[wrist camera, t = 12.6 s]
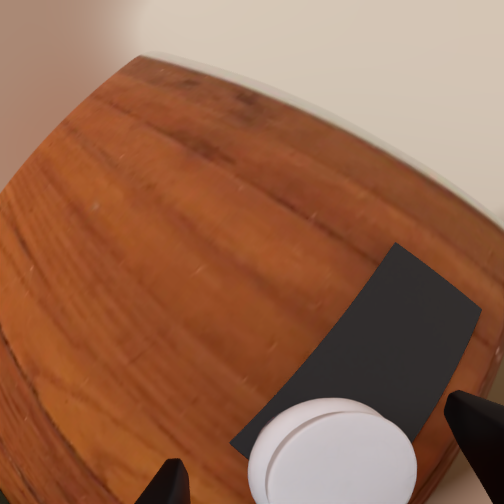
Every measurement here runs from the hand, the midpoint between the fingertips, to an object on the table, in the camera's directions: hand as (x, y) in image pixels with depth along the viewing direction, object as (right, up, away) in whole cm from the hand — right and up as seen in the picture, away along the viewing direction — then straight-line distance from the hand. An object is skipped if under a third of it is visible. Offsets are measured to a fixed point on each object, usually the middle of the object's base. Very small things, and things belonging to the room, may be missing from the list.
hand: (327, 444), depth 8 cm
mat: (+5, -1, +8) cm, 9 cm away
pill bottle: (0, -4, +6) cm, 7 cm away
